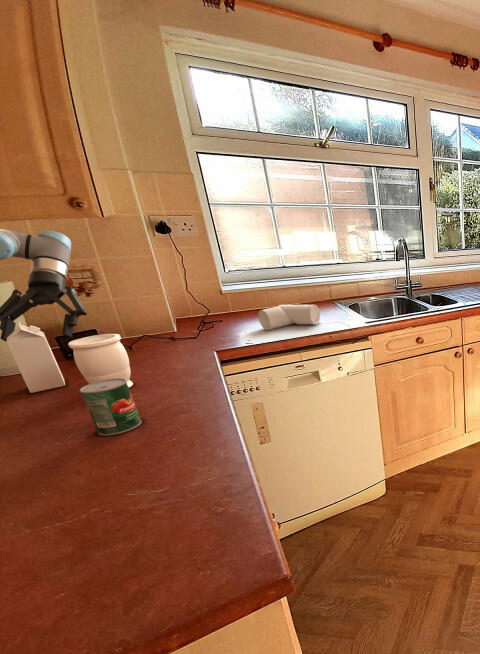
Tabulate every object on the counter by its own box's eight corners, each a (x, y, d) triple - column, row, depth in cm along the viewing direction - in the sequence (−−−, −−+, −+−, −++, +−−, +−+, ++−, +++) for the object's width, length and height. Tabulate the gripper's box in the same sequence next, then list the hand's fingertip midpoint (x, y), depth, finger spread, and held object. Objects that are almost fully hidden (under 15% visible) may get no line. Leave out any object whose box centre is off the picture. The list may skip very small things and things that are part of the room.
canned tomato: (100, 425, 101) (82, 383, 97) (142, 416, 105) (127, 375, 101) (95, 439, 95) (76, 395, 91) (141, 428, 99) (124, 386, 95)
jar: (123, 379, 127) (105, 331, 121) (146, 384, 124) (128, 335, 118) (80, 394, 118) (58, 342, 112) (103, 399, 114) (82, 346, 109)
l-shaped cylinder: (301, 314, 193) (257, 324, 177) (299, 292, 188) (254, 301, 173) (326, 328, 186) (283, 340, 170) (325, 305, 181) (281, 316, 166)
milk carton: (30, 393, 118) (-1, 328, 111) (30, 386, 123) (0, 323, 116) (65, 386, 123) (38, 323, 116) (64, 379, 127) (37, 318, 120)
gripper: (106, 281, 136) (99, 339, 128) (5, 287, 128) (-9, 349, 121) (91, 267, 129) (82, 327, 121) (-17, 272, 121) (-33, 336, 114)
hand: (37, 338), depth 121 cm, fingers open, 13 cm apart
